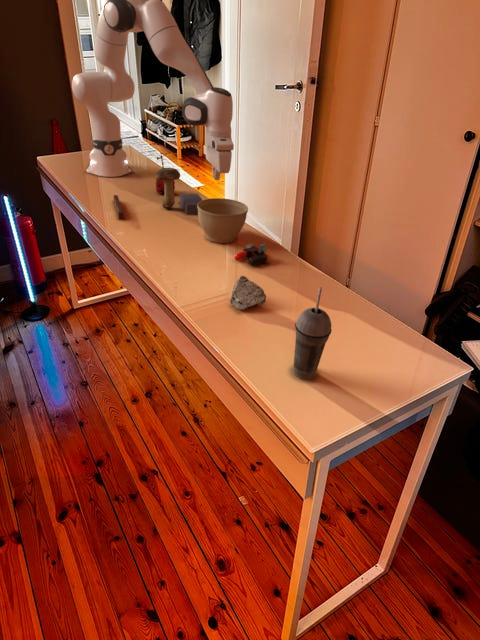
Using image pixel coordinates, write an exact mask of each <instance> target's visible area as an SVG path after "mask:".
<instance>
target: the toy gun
mask: <svg viewBox="0 0 480 640" xmlns="http://www.w3.org/2000/svg"><path fill="white" fill-rule="evenodd" d="M265 250H266V243H264V242H263V243H262V244H261V245H259V246H256V245H254V244H253V243H251V242H250V243H247V245H246V247H245V248H243V250H242V251H240V252H238V253H236V254H234V257H233V258H234V260H235V261H237V262H238V261H240V260H243V259H245V258H248V264H249V265H250V266H251V267H254V266H258V265H261V264H267V263H268V257H269V255H267V253H265Z"/></svg>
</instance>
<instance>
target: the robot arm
mask: <svg viewBox="0 0 480 640" xmlns="http://www.w3.org/2000/svg"><path fill="white" fill-rule="evenodd" d="M140 32H144V34H145V37H146V39H147V41H148V43H149V46H150V48H151V50H152V52H153V54H154V55H155V57H156V58H157V60H159V62H160V63H162V64H163V65H165V66H168V67H171V68H173V69H174V70H175V69H176V70H177V71H179V72H181V73H182V74H183V75H185V77H186V78H187V79H188V80H189V82H190V84H191V85H192V87H193V89H194V91H195V92H196V95H192V96H190V97H187V98H186V99H184V101H183V103H182V107H181V111H182V112H181V114H182V117H183V119H184V121H185V122H186V123H187V124H188V125H189V126H194V127H201V126H205V159H206V161H207V162H208V163H209V164H210V165H211V168H212V178H213V179H214V180H215V181H220V180H221V174H229V173H230V171H231V165H232V158H233V156H232V155H233V153H232V151H234V149H235V148H234V147H235V145H234V142H233V138H232V126H231V125H232V121H233V115H234V114H233V113H234V103H233V102H234V101H233V96H232V93H231V92H230V91H229V90H227V89H225V88H222V87H218V86H217V87H216V86H214V85H213V83H212V82H211V80H210V79H209V77H208V75H207V73H206V71H205V69H204V67H203V66H202V64H201V62H200V61H199V59H198V58H197V56H196V55H195V53H194V51H192V49H191V48H190V46H189V44H187V43H188V42H186V40H185V38H184V36H183V35H182V32H181V30H180V28H179V26H178V24H177V22H176V20H175V18H174V16H173V14H172V12H171V11H170V9H169V8H168V7H167V5H166V4H165V3H164V1H163V0H105V1H104V3H103V6H102V9H101V11H100V14H99V17H98V22H97V27H96V32H95V33H96V34H95V41H94V48H93V53H94V57H95V58H96V60H97V62H99V63H100V64H101V65H103V67H104V68H103V70H102V71H85V72H80V73H76V74H75V75H74V76H73V78H72V81H71V90H72V93H73V95H74V96H75V98H76V99H77V101H79V102H80V103H81V104H83V105H84V106H85V108H86V110H87V112H88V113H89V116H90V119H91V127H92V135H93V136H92V147H93V148H92V150H91V151H90V153H89V154H88V159H89V160H90V161H89V165H88V166H87V169H86V173H87V174H92V175H95V176H98V177H107V178H115V177H116V178H117V177H121V176H122V177H123V176H124V175H127V174H131V173H132V172H133V171H132V169H131V168H130V167H128V159H127V158H128V157H127V152H126V151H125V150H124V149H123V138H122V133H121V131H122V130H121V120H120V118H119V117H118V115H116V113H114V112H112V111H110V109H109V107H108V103H121V102H125V101H128V100H131V99H132V98H133V96H134V94H135V91H136V90H135V89H136V87H135V82H134V79H133V78H132V77H131V75H130V74H128V71H127V69H126V66H125V60H126V52H127V47H128V41H129V40H128V39H129V34H130V33H140Z"/></svg>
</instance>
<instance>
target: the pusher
mask: <svg viewBox="0 0 480 640" xmlns="http://www.w3.org/2000/svg"><path fill="white" fill-rule="evenodd" d="M202 200H203V198H202V197H201V195H200V194H199V193H180V194H179V204H180V206H181V207H182V209H183V211H184V212H185V214H186V215H198V208H197V204H198V203H199V202H200V201H202Z"/></svg>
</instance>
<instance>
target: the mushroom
mask: <svg viewBox="0 0 480 640" xmlns="http://www.w3.org/2000/svg"><path fill="white" fill-rule="evenodd" d="M155 177H157V179H158V180H164V187H165V195H163V199H162V207H163V208H164V209H166V210H170V209H171V208H173V207H174V206H175V204H176V203H175V202H176V200H175V190H174V191H173V180H174V181H175V180H176V181H177V180H179V179H180V178H181V173H180V171H179V169H177V168H174V167H164V168H162V167H161V169H158V171H157V172H156V174H155Z"/></svg>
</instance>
